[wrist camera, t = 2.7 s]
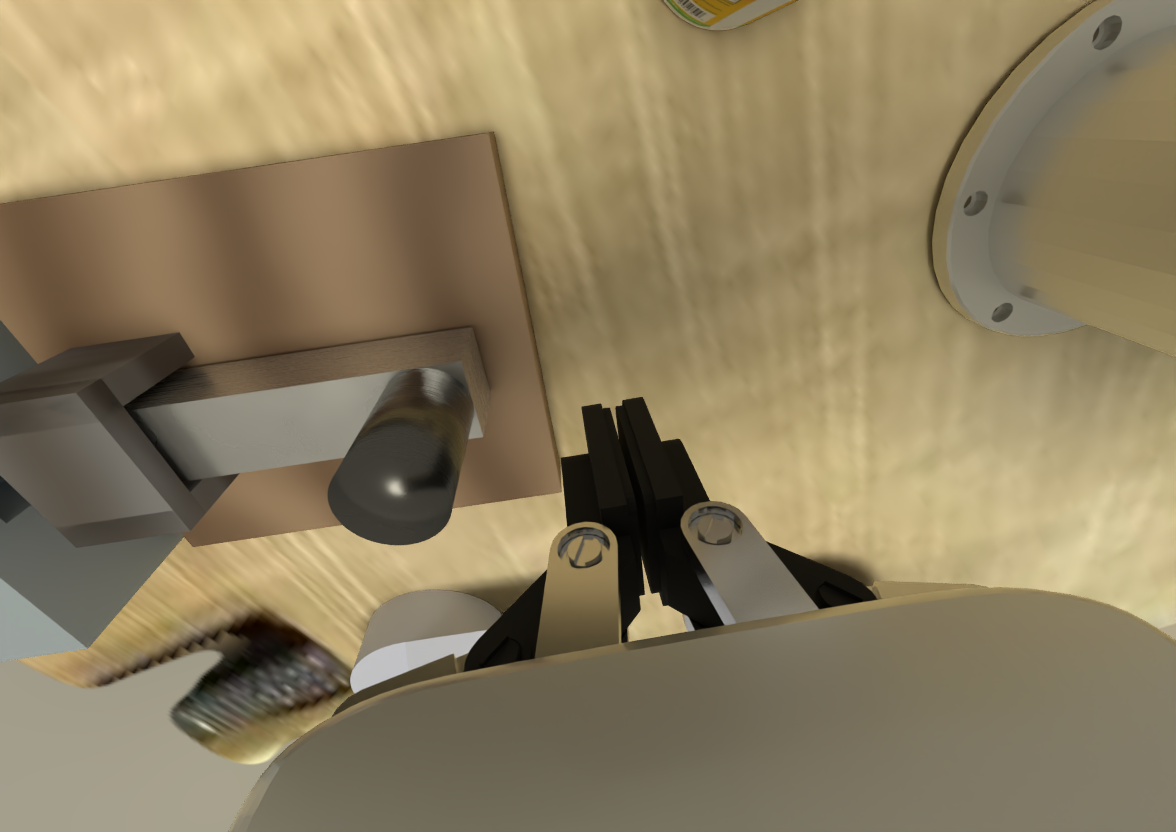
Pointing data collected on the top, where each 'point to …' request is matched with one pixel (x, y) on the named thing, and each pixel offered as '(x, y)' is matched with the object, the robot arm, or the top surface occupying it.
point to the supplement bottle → (724, 11)
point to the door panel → (254, 326)
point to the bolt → (335, 424)
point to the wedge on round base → (419, 633)
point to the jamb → (60, 566)
